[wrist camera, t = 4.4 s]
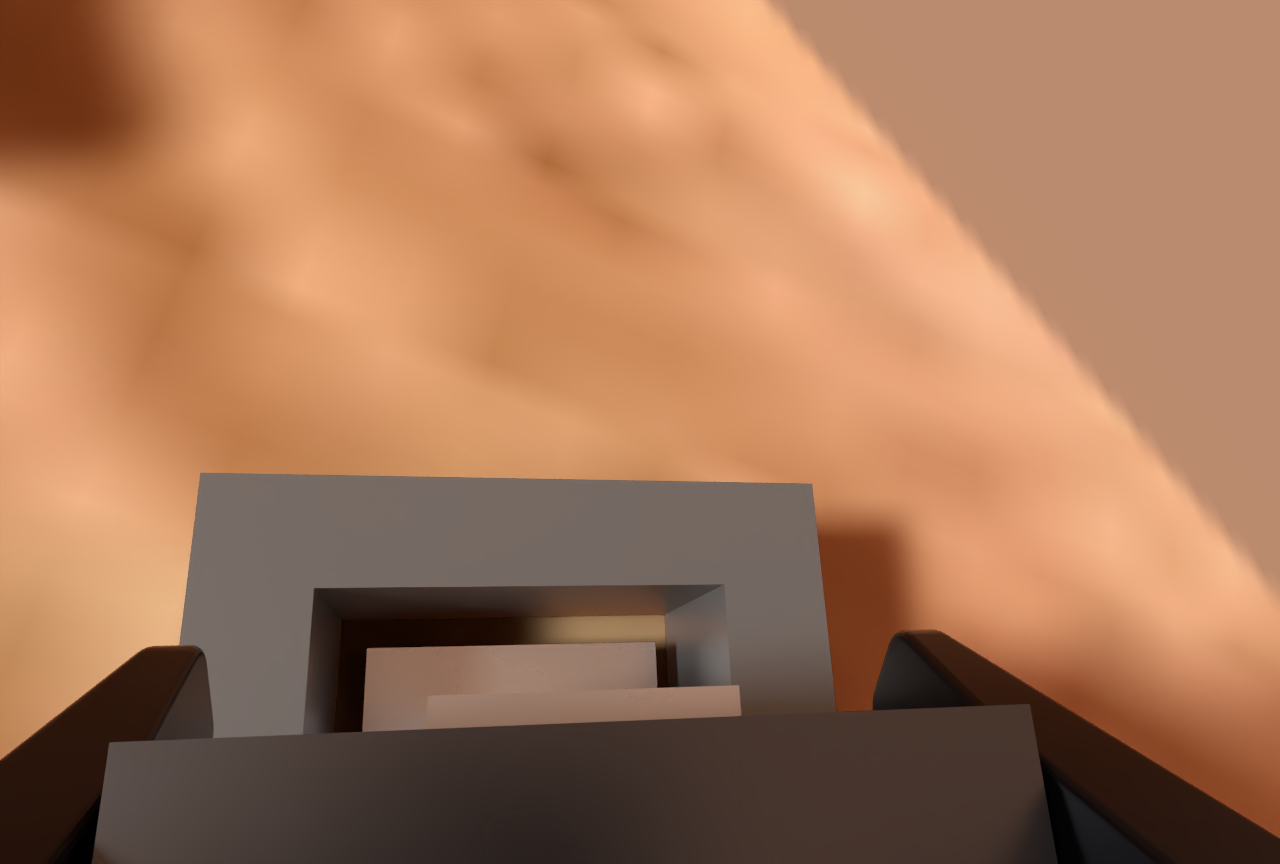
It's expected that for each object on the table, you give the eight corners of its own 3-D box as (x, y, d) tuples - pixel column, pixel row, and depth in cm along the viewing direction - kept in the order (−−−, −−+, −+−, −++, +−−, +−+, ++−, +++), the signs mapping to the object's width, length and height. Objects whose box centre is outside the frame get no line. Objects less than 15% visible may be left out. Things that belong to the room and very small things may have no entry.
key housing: (779, 1064, 14) (885, 1168, 10) (191, 1144, 12) (99, 1301, 9) (737, 532, 16) (812, 483, 13) (253, 530, 14) (200, 472, 11)
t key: (699, 937, 14) (1129, 1268, 5) (299, 976, 13) (-1, 1499, 4) (683, 646, 15) (1000, 533, 7) (323, 655, 14) (140, 527, 5)
